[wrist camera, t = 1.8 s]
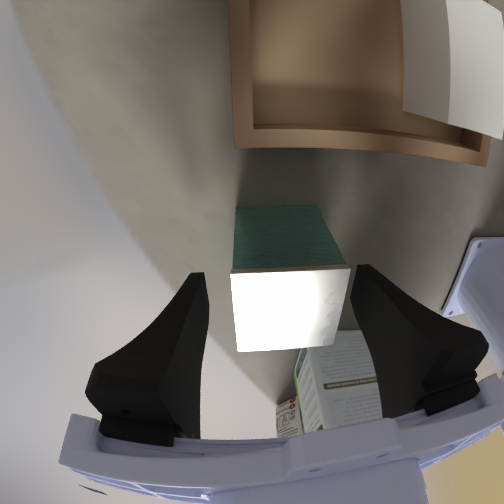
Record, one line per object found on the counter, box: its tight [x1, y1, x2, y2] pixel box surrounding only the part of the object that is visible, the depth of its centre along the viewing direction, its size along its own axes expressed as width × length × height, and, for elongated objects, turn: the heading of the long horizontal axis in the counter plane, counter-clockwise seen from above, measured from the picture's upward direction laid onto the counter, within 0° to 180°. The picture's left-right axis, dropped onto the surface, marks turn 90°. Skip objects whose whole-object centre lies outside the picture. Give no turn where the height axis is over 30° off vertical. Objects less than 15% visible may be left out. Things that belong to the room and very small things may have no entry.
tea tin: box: [231, 205, 351, 351], centre depth 14 cm, size 4×4×6 cm
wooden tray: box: [229, 0, 491, 167], centre depth 9 cm, size 14×11×2 cm
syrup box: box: [293, 330, 426, 489], centre depth 17 cm, size 6×6×14 cm
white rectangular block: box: [400, 0, 504, 140], centre depth 8 cm, size 4×7×4 cm, turn 2°
